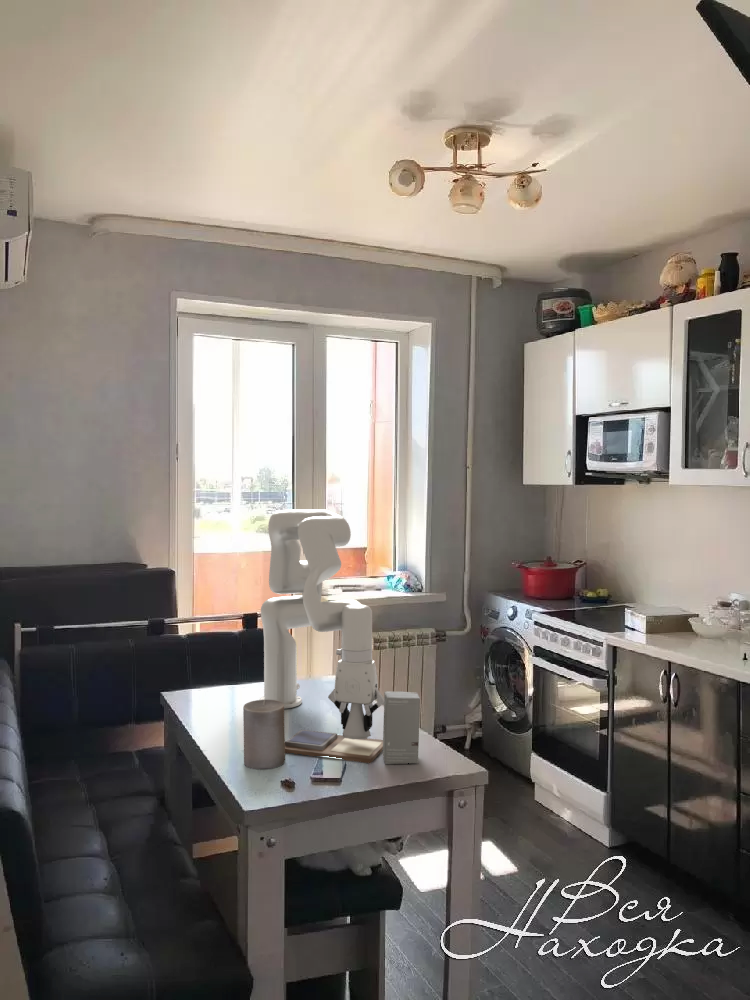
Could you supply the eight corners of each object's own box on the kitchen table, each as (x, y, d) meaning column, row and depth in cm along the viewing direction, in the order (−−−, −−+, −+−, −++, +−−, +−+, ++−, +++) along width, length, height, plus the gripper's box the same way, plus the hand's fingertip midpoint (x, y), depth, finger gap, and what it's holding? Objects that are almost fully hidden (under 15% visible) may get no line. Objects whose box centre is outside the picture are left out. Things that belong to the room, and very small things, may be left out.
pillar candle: (265, 752, 199) (264, 691, 198) (293, 761, 193) (292, 698, 192) (235, 763, 191) (234, 700, 191) (263, 773, 185) (262, 708, 185)
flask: (374, 732, 203) (374, 692, 202) (367, 741, 196) (367, 700, 195) (345, 730, 204) (345, 690, 204) (338, 739, 197) (338, 698, 197)
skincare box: (384, 765, 190) (384, 698, 190) (382, 754, 198) (382, 690, 197) (420, 764, 191) (420, 697, 190) (416, 753, 198) (417, 689, 198)
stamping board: (300, 734, 212) (300, 726, 212) (388, 744, 205) (388, 736, 205) (277, 751, 199) (277, 743, 199) (370, 763, 191) (370, 754, 191)
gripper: (318, 656, 198) (318, 729, 199) (385, 661, 193) (384, 737, 194) (330, 649, 205) (330, 721, 206) (394, 654, 200) (394, 727, 201)
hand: (356, 728), depth 200 cm, fingers closed on flask, 4 cm apart
